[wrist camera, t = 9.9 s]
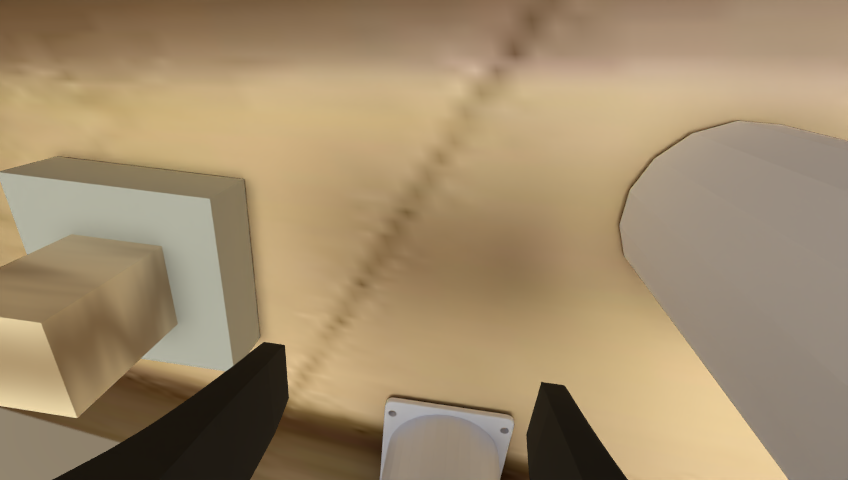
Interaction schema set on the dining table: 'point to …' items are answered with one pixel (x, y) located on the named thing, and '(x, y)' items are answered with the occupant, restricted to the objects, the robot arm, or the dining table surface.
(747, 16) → the dining table surface
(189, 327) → the base
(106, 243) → the block
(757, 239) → the soap bottle
